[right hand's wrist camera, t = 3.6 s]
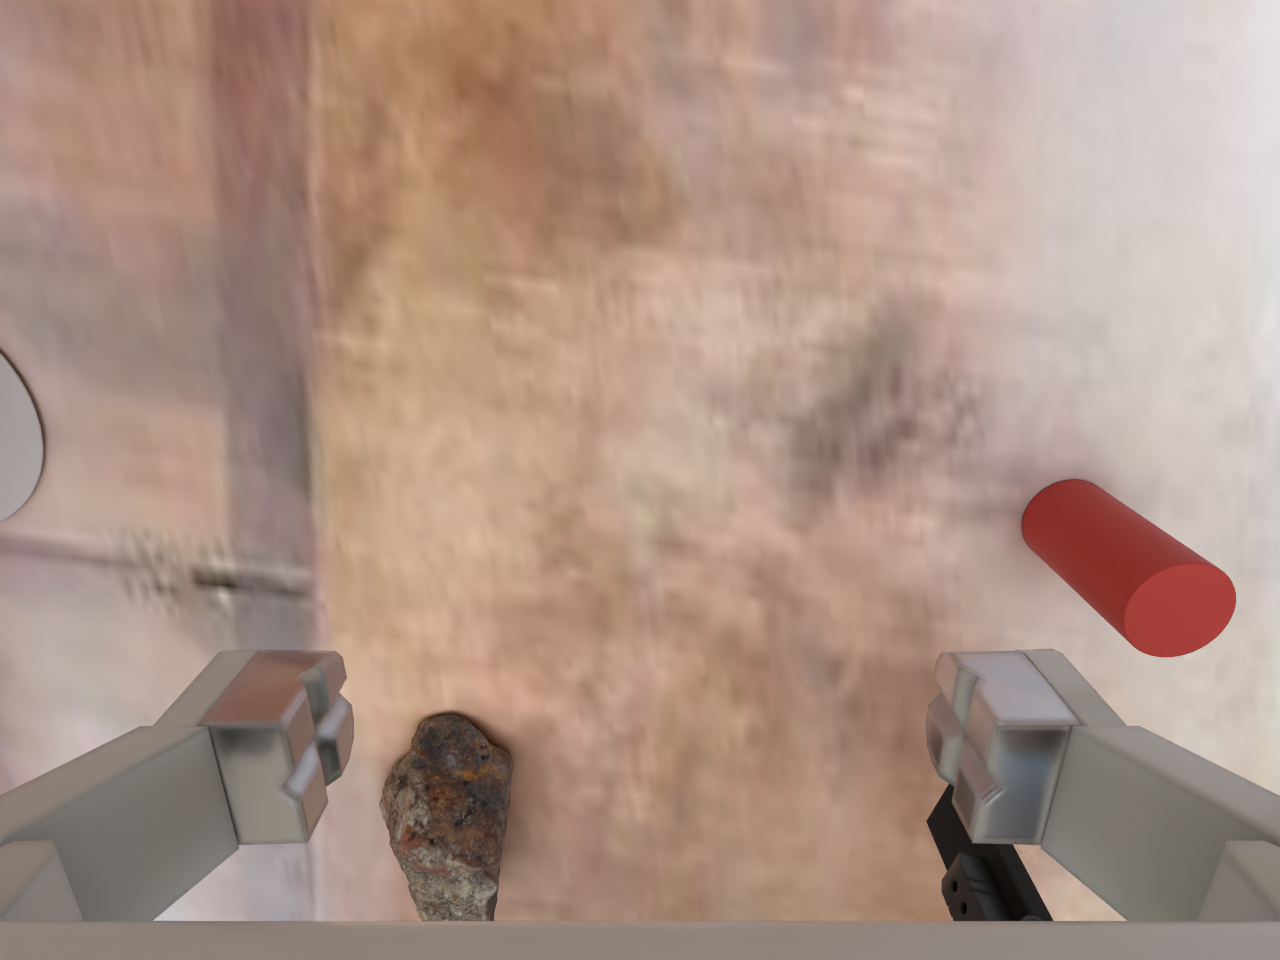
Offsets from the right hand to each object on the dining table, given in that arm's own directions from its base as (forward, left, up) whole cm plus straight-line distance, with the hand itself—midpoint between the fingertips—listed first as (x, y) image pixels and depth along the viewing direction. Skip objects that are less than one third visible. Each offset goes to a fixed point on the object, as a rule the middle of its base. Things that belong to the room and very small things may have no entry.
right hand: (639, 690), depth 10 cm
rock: (-8, -36, -33) cm, 49 cm away
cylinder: (+27, -9, -33) cm, 44 cm away
